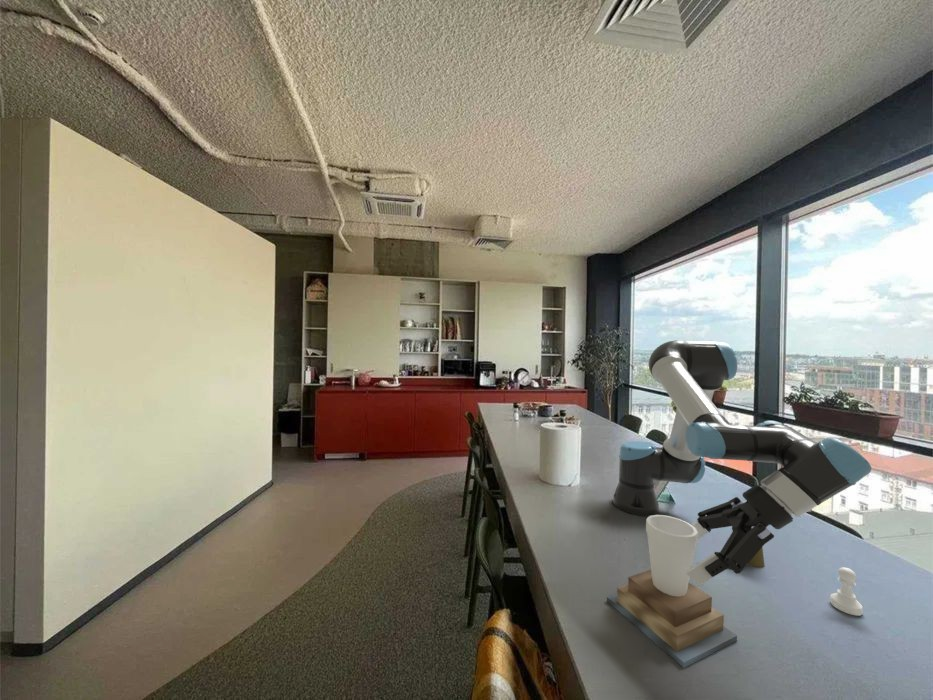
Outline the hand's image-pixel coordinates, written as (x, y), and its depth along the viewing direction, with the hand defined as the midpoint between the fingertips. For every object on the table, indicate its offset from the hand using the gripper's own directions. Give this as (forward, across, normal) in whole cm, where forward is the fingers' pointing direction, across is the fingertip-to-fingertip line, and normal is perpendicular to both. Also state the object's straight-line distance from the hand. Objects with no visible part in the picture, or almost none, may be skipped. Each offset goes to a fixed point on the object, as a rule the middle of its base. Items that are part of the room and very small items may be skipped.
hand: (684, 559), depth 73 cm
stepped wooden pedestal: (+12, 0, -8) cm, 14 cm away
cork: (-6, +34, -26) cm, 44 cm away
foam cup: (+7, +1, -3) cm, 7 cm away
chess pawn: (-16, +21, -36) cm, 44 cm away
